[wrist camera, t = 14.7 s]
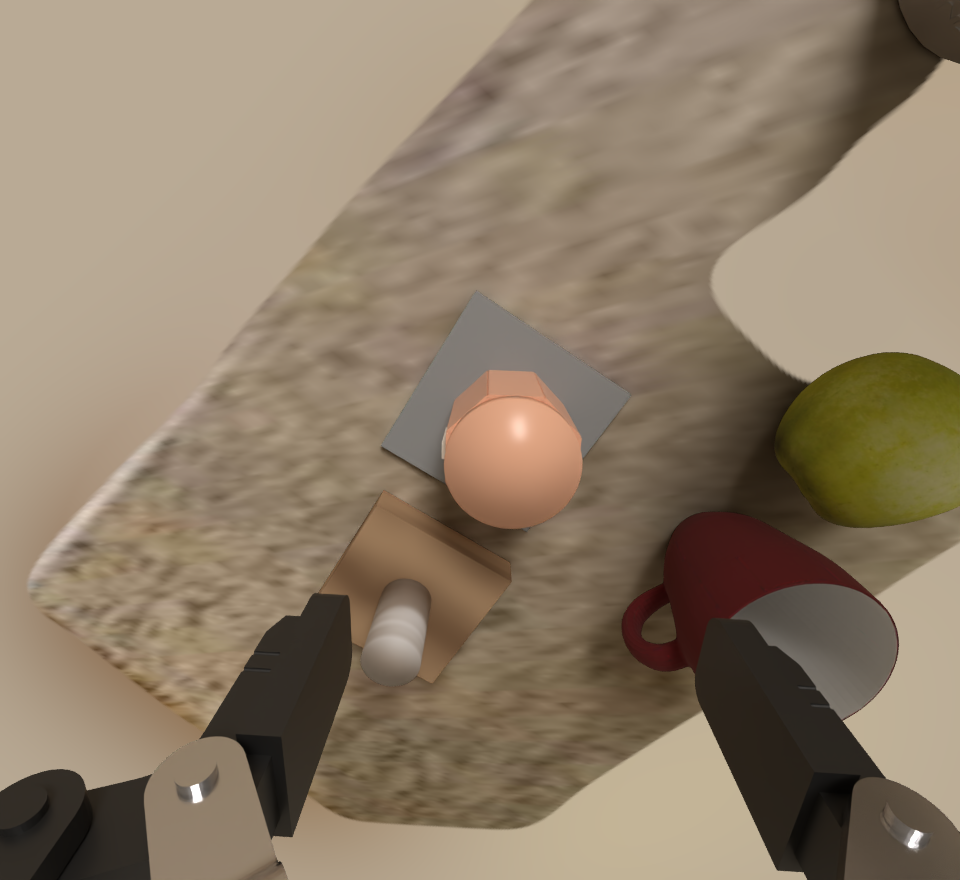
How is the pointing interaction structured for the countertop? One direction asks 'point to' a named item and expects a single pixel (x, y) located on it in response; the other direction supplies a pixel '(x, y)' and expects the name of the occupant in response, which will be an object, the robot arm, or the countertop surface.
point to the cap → (511, 451)
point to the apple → (876, 441)
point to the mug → (768, 606)
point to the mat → (497, 346)
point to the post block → (413, 591)
